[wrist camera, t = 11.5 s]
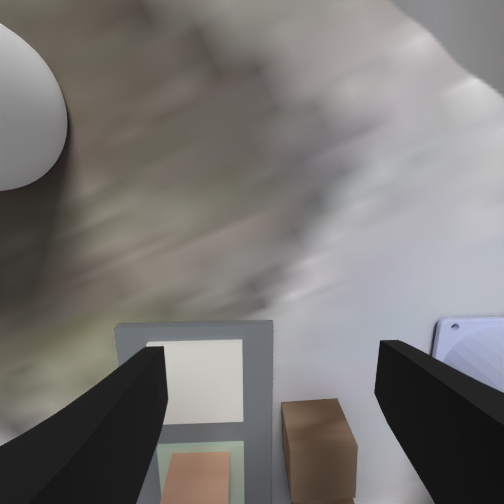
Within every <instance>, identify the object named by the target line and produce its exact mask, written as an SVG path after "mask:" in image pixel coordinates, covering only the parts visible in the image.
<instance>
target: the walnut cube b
mask: <svg viewBox="0 0 504 504" xmlns="http://www.w3.org/2000/svg"><path fill="white" fill-rule="evenodd" d="M292 504H354V501H353V498H345V499H332V500H319V501H306V502H293V503H292Z"/></svg>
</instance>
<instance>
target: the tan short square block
mask: <svg viewBox="0 0 504 504" xmlns="http://www.w3.org/2000/svg"><path fill="white" fill-rule="evenodd" d="M160 504H231V482H230V451H224V452H195V453H172V456H171V460H170V464H169V468H168V472H167V476H166V480H165V484H164V488H163V493H162V497H161V501H160Z"/></svg>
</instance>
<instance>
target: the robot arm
mask: <svg viewBox="0 0 504 504" xmlns="http://www.w3.org/2000/svg"><path fill="white" fill-rule="evenodd" d="M453 324H455V326H454V327H453V328H451V327H452V325H453ZM374 393H375V396H376V398H377V400H378V403H379V405H380V408H381V410H382V412H383V414H384V416H385V419H386V421H387V423H388V425H389V426H390V428H391V430H392V432H393V433H394V435H395V437H396V438H397V440H398V442H399V443H400V445H401V447H402V449H403V450H404V452H405V454H406V455H407V457H408V459H409V460H410V462H411V464H412V465H413V467H414V469H415V470H416V472H417V474H418V475H419V477H420V479H421V480H422V482H423V484H424V485H425V487H426V489H427V490H428V492H429V494H430V495H431V497H432V499H433V501H434V502H435V504H504V317H472V318H443V319H441V320H440V321H439V322H438V324H437V328H436V335H435V341H434V347H433V353H432V356H430V355H428V354H426V353H424V352H422V351H420V350H418V349H416V348H415V347H413V346H410V345H408V344H406V343H404V342H402V341H399V340H380V346H379V355H378V364H377V373H376V382H375V391H374ZM167 404H168V388H167V376H166V365H165V353H164V346H145V347H144V348H142V349H141V350H140V351H138V352H137V353H136V354H134V355H133V356H132V357H131V358H130V359H128V360H127V361H126V362H125V363H123V364H122V365H121V366H120V367H118V368H117V369H116V370H115V371H113V372H112V373H111V374H109V375H108V376H107V377H106V378H104V379H103V380H102V381H101V382H99V383H98V384H97V385H95V386H94V387H92V388H91V389H90V390H88V391H87V392H86V393H84V394H83V395H81V396H80V397H79V398H77V399H76V400H75V401H73V402H72V403H70V404H69V405H68V406H66V407H65V408H63V409H62V410H60V411H59V412H57V413H56V414H54V415H53V416H51V417H49V418H48V419H46V420H45V421H43V422H41V423H40V424H38V425H37V426H35V427H33V428H32V429H30V430H28V431H27V432H25V433H23V434H22V435H20V436H18V437H16V438H15V439H13V440H11V441H9V442H7V443H5V444H4V445H2V446H0V504H136V503H137V500H138V497H139V494H140V492H141V489H142V486H143V483H144V480H145V477H146V474H147V472H148V469H149V466H150V463H151V460H152V457H153V454H154V451H155V449H156V446H157V443H158V440H159V437H160V434H161V431H162V427H163V422H164V418H165V413H166V409H167Z"/></svg>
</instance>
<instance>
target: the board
mask: <svg viewBox="0 0 504 504" xmlns="http://www.w3.org/2000/svg"><path fill="white" fill-rule="evenodd" d="M114 330H115V338H116V346H117V354H118V361H119V367H120V366H121V365H122V364H123V363H125V362H126V361H127V360H128V359H130V358H131V357H132V356H133V355H134V354H136V353H137V352H138V351H140V350H141V349H142V348H144V347H145V346H164V353H165V365H166V376H167V388H168V404H167V409H166V413H165V418H164V422H163V427H162V431H161V434H160V437H159V440H158V443H157V446H156V449H155V451H154V454H153V457H152V460H151V463H150V466H149V469H148V472H147V474H146V477H145V480H144V483H143V486H142V489H141V492H140V494H139V497H138V500H137V504H160V501H161V497H162V493H163V488H164V484H165V480H166V476H167V472H168V468H169V464H170V460H171V456H172V453H195V452H224V451H230V482H231V504H271V460H272V388H273V321H272V320H262V321H218V322H174V323H130V324H117V326H116V327H115V328H114Z"/></svg>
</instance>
